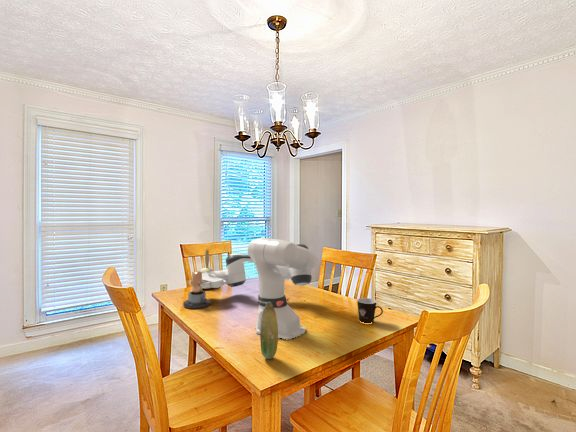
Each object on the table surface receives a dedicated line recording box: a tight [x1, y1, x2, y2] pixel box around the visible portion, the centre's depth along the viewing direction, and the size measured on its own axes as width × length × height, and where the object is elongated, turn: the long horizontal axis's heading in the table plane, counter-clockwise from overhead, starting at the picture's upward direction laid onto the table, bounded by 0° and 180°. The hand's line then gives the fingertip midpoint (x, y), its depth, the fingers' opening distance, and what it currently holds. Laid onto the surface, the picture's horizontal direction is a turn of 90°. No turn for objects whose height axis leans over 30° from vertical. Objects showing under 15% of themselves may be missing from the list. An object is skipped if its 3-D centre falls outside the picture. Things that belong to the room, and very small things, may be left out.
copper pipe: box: [191, 270, 203, 295], centre depth 168 cm, size 5×5×16 cm
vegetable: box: [259, 302, 279, 360], centre depth 109 cm, size 6×6×20 cm
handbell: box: [200, 248, 215, 289], centre depth 203 cm, size 15×15×25 cm
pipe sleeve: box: [182, 290, 211, 310], centre depth 168 cm, size 14×14×6 cm
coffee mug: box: [356, 297, 384, 323], centre depth 144 cm, size 12×9×10 cm
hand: (195, 283), depth 167 cm, fingers open, 8 cm apart
